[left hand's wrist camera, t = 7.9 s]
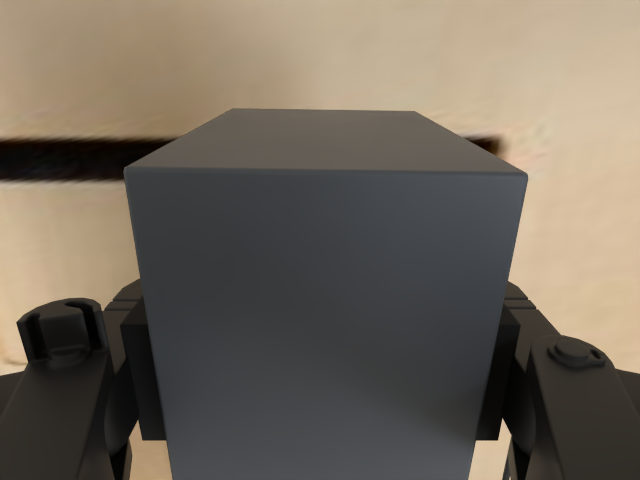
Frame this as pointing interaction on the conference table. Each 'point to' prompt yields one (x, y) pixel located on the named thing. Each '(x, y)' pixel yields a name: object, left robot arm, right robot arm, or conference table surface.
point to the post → (323, 292)
